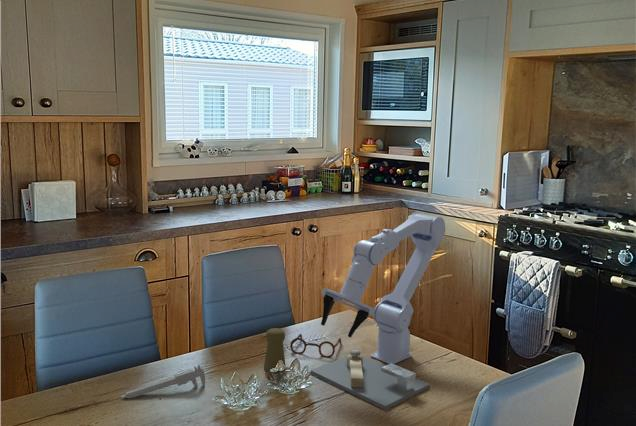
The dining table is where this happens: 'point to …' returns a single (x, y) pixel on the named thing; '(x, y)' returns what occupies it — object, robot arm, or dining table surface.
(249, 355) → the dining table surface
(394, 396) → the charcoal board
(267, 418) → the dining table surface
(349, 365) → the wooden link
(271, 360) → the cork
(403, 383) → the block
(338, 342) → the glasses
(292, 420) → the dining table surface
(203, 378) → the caliper
